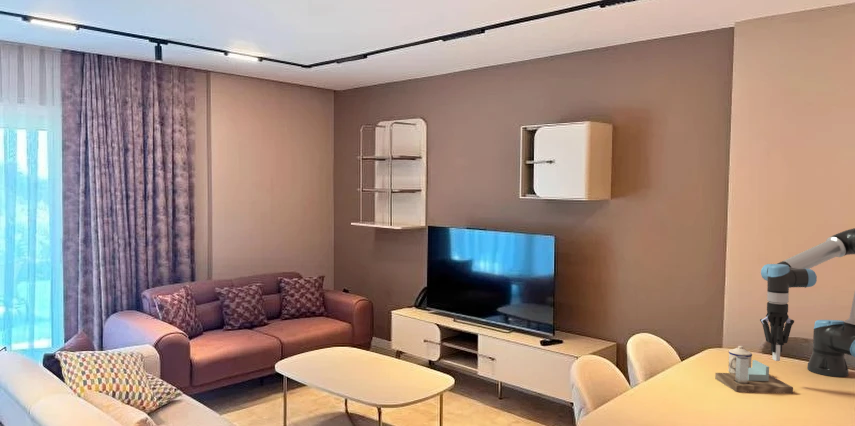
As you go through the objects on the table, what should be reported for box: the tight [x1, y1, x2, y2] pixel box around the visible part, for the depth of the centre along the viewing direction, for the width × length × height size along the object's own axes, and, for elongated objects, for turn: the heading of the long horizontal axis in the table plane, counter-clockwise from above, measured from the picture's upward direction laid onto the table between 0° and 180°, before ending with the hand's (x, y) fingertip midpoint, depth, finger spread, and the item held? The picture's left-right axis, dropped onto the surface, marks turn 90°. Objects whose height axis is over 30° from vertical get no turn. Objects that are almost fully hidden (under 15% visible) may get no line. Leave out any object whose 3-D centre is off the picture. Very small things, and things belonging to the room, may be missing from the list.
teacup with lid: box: [727, 345, 753, 373], centre depth 261 cm, size 12×9×12 cm
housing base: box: [714, 372, 794, 395], centre depth 244 cm, size 22×17×4 cm
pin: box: [735, 356, 749, 384], centre depth 240 cm, size 3×3×13 cm
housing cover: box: [748, 359, 770, 381], centre depth 247 cm, size 8×10×6 cm
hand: (776, 360), depth 247 cm, fingers closed
